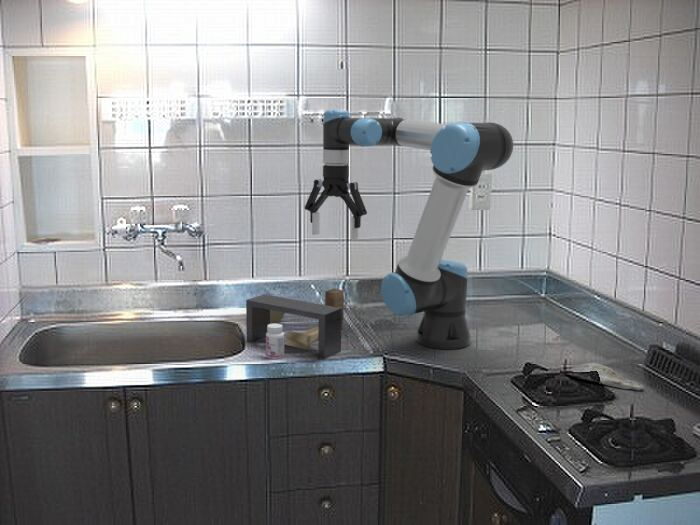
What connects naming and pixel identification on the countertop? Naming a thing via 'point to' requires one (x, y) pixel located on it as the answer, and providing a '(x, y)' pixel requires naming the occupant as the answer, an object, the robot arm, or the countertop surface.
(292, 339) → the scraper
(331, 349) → the riser shelf
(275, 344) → the pill bottle
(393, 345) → the countertop surface
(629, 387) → the stone
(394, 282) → the robot arm
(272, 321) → the flower pot
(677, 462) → the countertop surface
